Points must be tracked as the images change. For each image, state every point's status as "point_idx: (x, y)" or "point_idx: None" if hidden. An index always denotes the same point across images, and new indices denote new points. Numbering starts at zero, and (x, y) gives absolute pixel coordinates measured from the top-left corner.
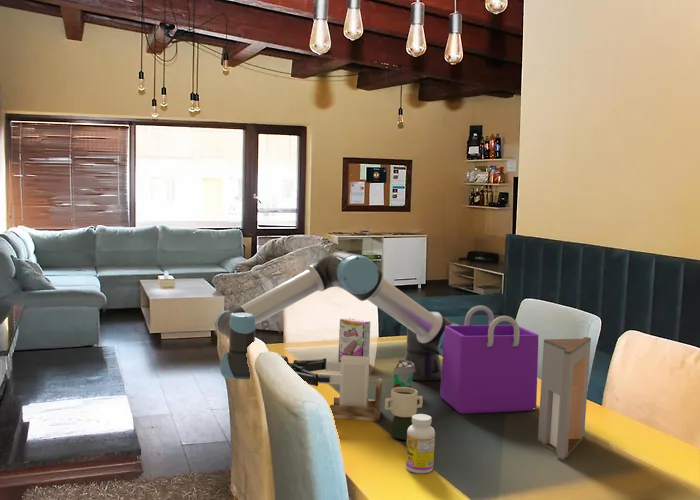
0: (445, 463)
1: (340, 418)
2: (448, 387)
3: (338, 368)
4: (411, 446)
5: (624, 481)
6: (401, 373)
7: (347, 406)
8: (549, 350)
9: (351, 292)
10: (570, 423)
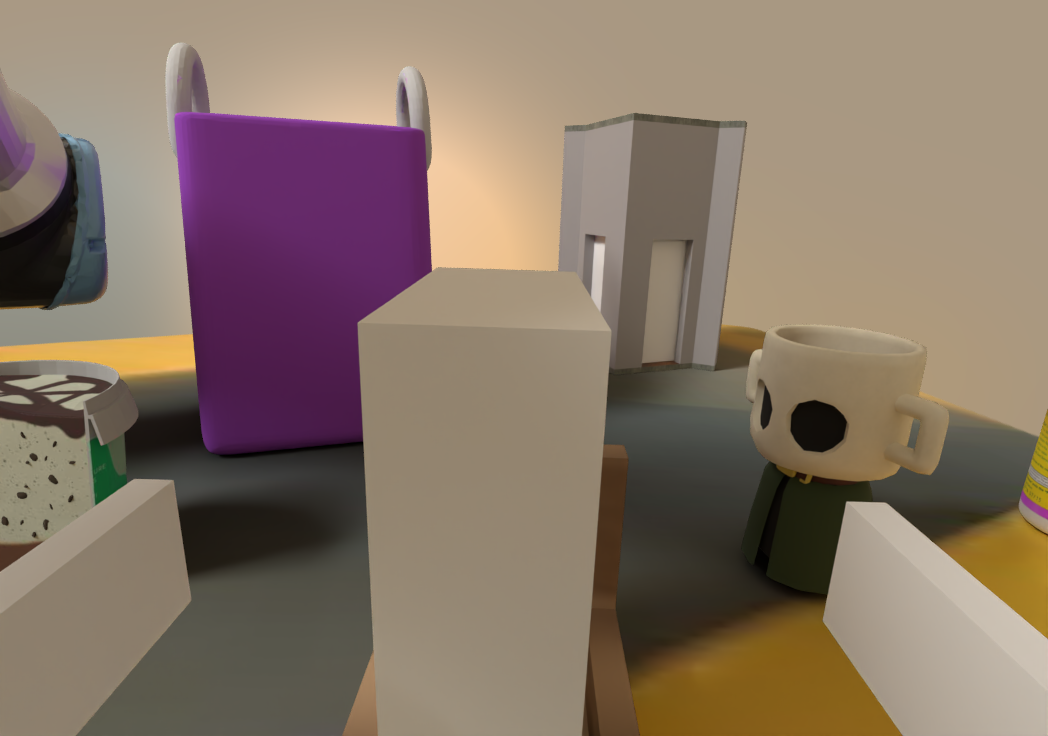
0: (941, 482)
1: None
2: (313, 381)
3: (86, 659)
4: None
5: (759, 347)
6: (131, 419)
7: None
8: (656, 138)
9: None
10: None
